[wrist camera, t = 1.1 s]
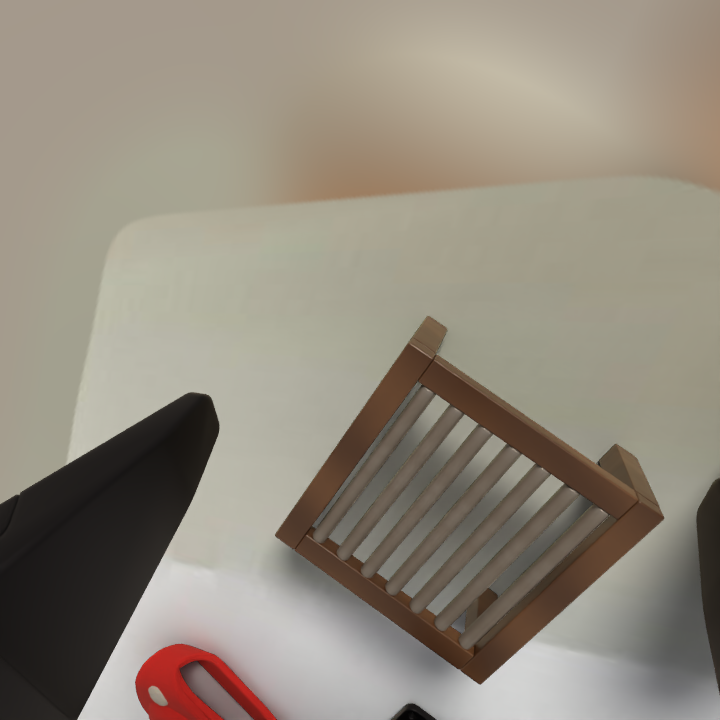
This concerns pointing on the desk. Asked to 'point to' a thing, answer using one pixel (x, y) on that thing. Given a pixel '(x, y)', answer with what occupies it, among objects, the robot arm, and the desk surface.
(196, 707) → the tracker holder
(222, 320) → the desk surface
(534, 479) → the wooden rack
